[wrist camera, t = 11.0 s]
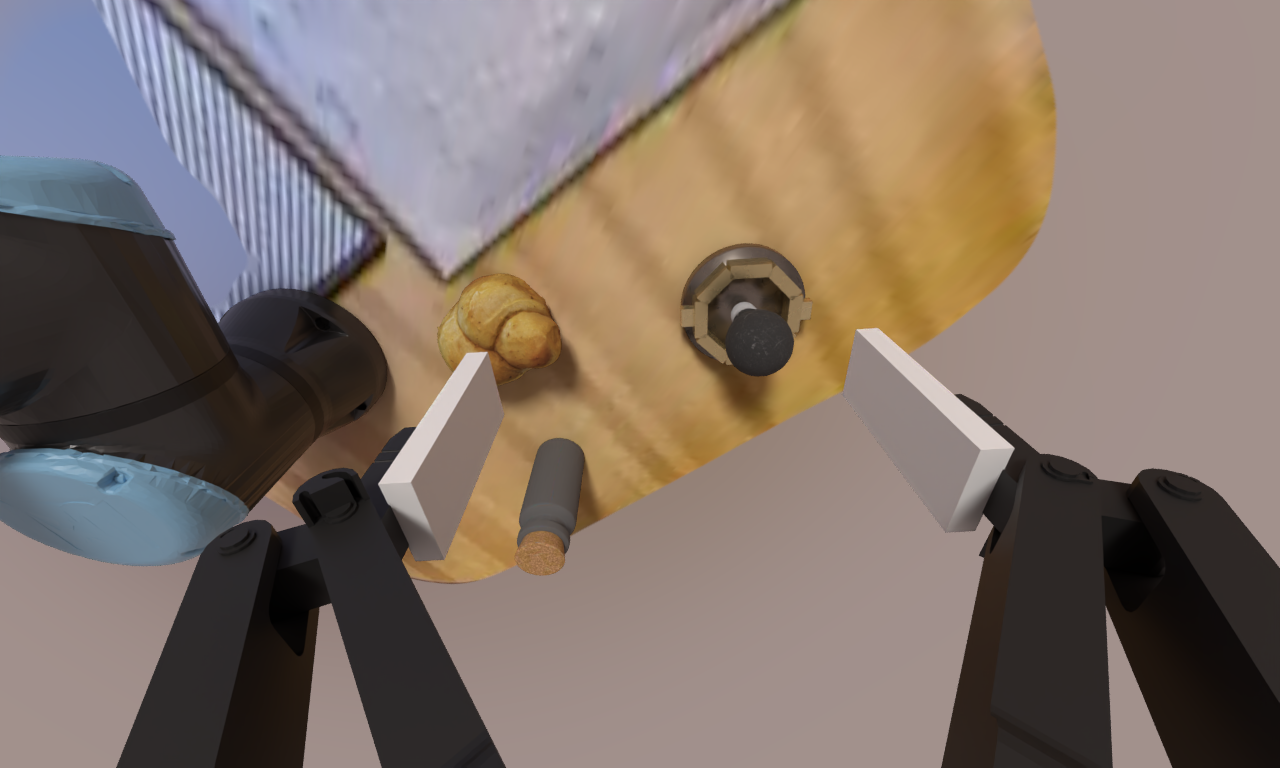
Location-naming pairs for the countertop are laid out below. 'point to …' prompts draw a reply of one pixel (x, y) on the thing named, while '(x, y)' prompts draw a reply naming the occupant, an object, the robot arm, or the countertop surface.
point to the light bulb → (758, 340)
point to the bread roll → (500, 327)
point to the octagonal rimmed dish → (739, 294)
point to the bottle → (550, 507)
